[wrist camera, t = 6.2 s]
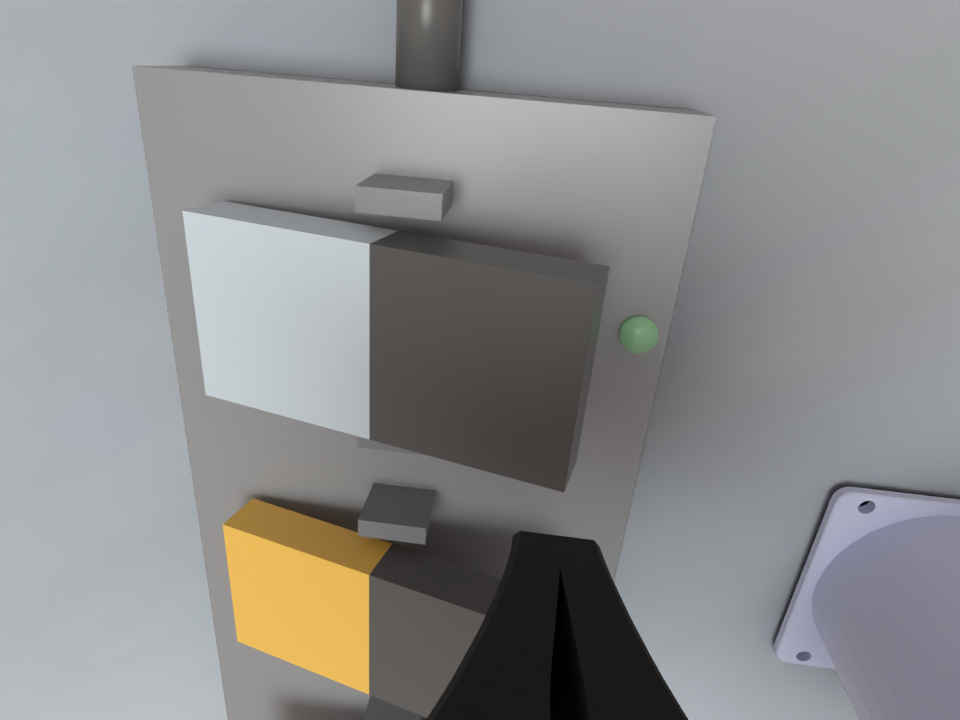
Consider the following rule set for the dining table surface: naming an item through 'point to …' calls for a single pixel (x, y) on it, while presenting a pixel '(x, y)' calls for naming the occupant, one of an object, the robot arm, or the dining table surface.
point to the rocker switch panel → (433, 212)
